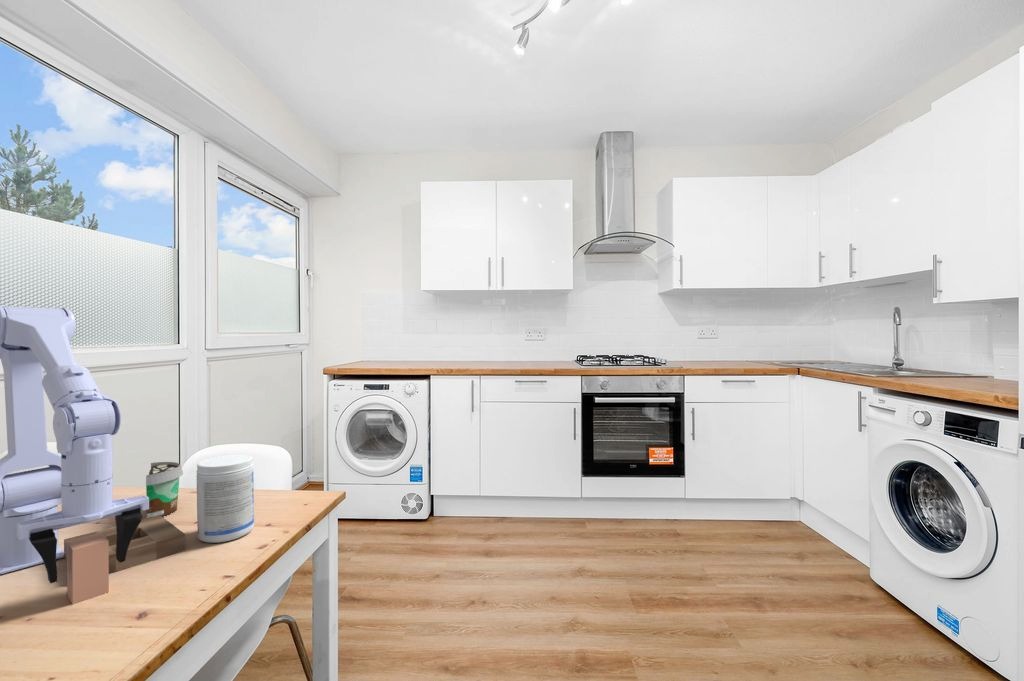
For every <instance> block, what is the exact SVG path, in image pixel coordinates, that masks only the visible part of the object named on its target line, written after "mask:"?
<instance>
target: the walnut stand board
mask: <svg viewBox="0 0 1024 681" xmlns="http://www.w3.org/2000/svg"><path fill="white" fill-rule="evenodd" d="M98 534H103V535H104V536H105V537H106V538H107V539H108V540H109V575H110V574H113V573H117V572H120V571H123V570H125V569H130V568H132V567H135V566H138V565H139V566H140V565H141V564H146V563H148V561H149V562H151V561H155V560H158V559H162V558H164V557H167V556H171V555H174V554H177V553H180V552H183V551H185V550H186V534H185V532H183V531H181V530H180V529H179V528H178V527H177V526H175V525H174V524H172V523H171V522H170V521H168V520H167V519H166V518H165V517H162V516H161V515H159V516H155V517H151V518H147V517H146V518H142V520H141V522H140V524H139V525H138V527H137V529H136V531H135V532H134V535H133V537H132V539H131V541H130V544H129V547H128V550H127V554H126V559H125V561H124V562H121V563H120V562H119V561H118V560H117V559H116V543H117V530H116V525H115V526H112V527H108V528H104V529H100V530H96V531H93V532H89V533H84V534H81V535H76V536H73V537H68V538H64V539H63V552H64V554H65V556H64V557H63V558H65V560H66V561H67V542H70V541H74V540H78V539H82V538H86V537H90V536H94V535H98Z"/></svg>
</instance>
